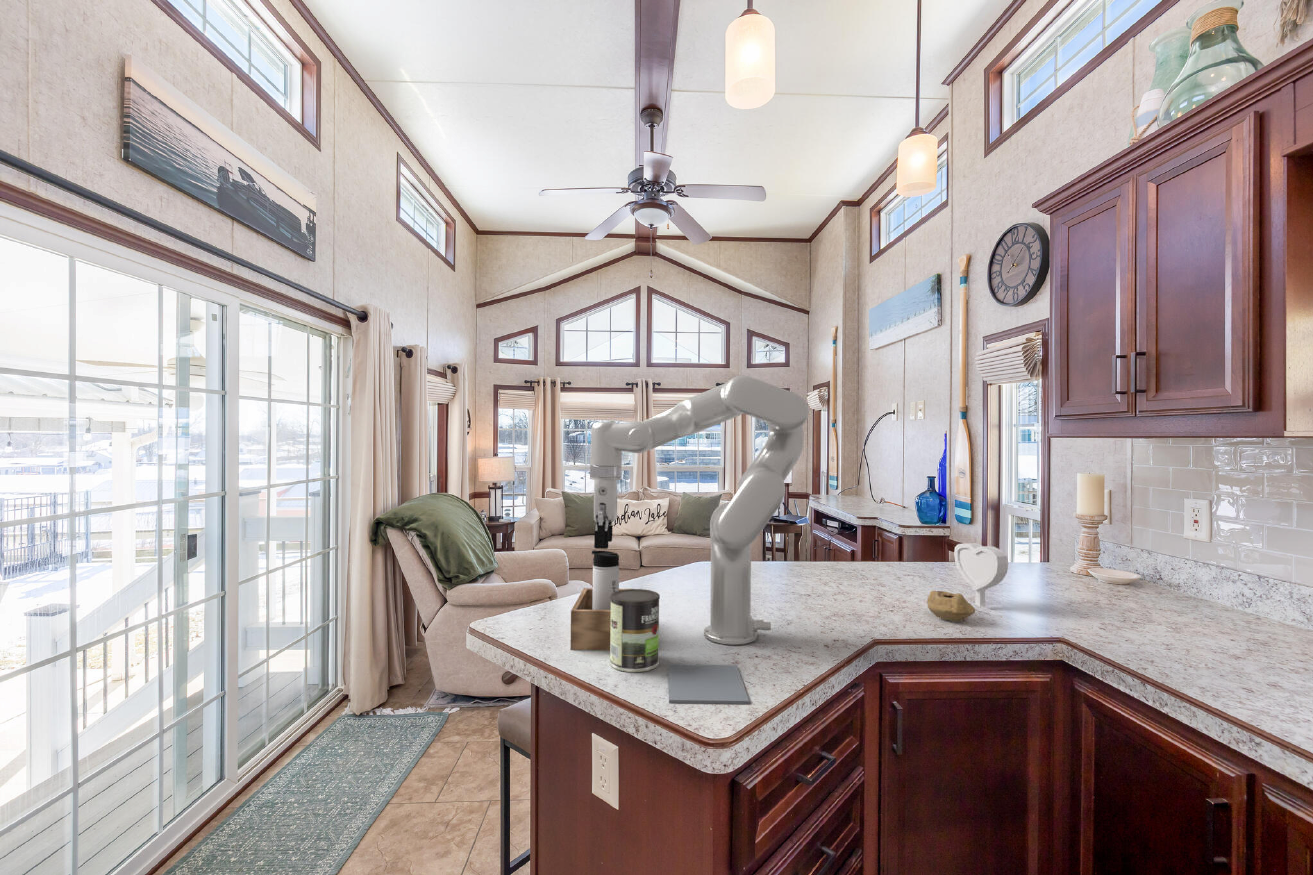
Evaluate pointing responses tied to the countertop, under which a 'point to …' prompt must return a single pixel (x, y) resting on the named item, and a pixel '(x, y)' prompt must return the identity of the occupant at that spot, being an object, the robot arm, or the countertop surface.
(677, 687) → the mat
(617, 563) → the travel mug
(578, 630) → the crate
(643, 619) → the coffee can
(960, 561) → the heart sculpture
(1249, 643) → the countertop surface
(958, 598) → the oil lamp
